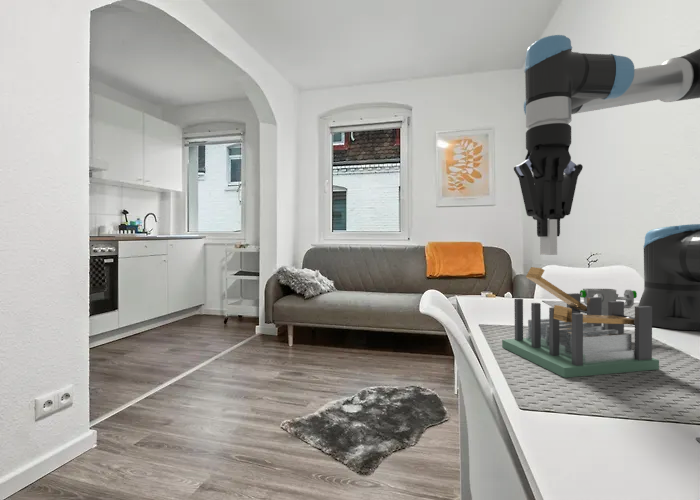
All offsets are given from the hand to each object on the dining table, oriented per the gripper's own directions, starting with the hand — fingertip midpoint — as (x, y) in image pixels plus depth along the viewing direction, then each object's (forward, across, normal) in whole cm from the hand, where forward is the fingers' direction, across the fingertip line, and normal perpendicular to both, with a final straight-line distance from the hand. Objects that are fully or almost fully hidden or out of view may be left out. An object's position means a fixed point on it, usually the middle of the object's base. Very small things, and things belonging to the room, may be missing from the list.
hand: (548, 254), depth 73 cm
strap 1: (+8, -2, -1) cm, 8 cm away
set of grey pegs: (+17, -2, +4) cm, 17 cm away
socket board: (+18, -1, +4) cm, 19 cm away
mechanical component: (+18, -19, -6) cm, 27 cm away
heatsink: (+17, -2, +4) cm, 17 cm away
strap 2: (+11, -2, +9) cm, 15 cm away
